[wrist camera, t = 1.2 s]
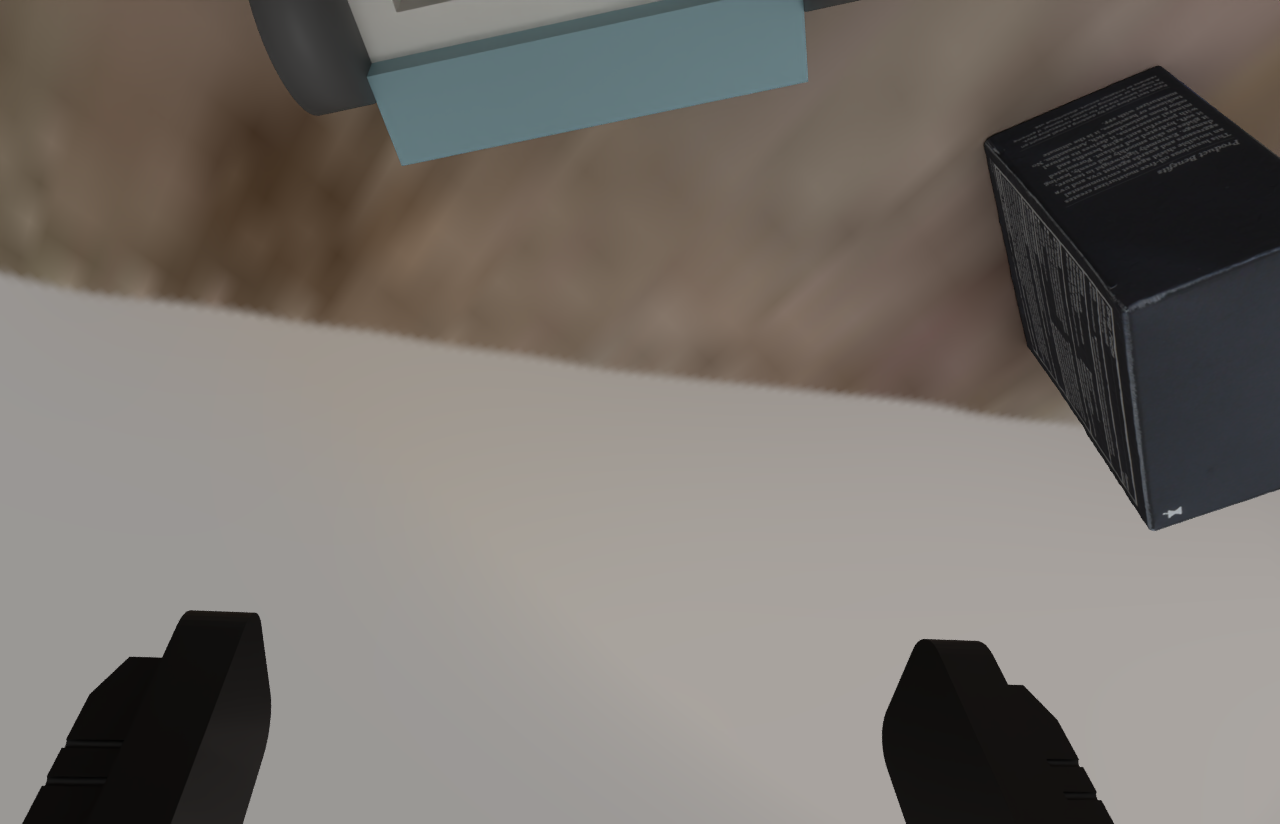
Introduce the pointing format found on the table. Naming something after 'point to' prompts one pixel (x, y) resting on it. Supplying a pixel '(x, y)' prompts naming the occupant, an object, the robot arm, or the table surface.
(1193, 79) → the table surface
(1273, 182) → the small box
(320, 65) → the chassis
